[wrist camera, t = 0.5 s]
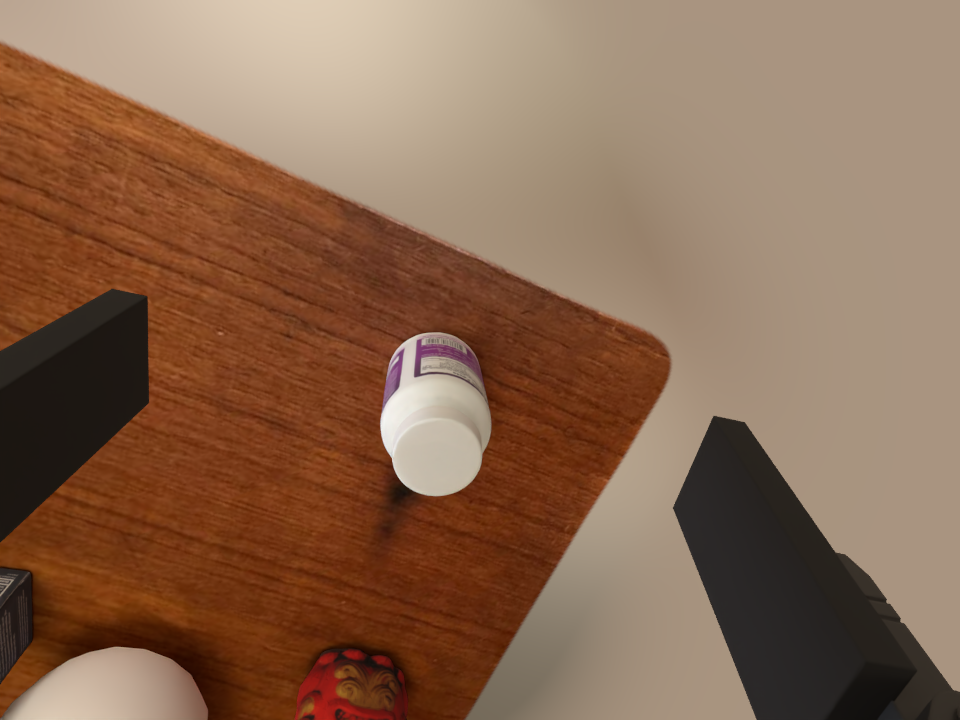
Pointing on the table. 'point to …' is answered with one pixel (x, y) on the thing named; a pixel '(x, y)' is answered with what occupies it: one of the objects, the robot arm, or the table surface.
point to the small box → (14, 617)
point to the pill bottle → (435, 414)
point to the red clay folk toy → (352, 688)
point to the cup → (112, 690)
